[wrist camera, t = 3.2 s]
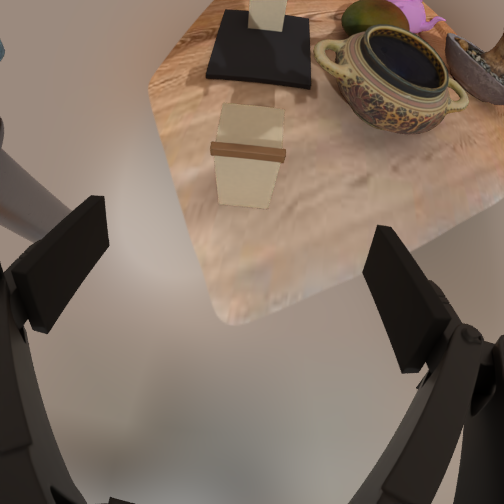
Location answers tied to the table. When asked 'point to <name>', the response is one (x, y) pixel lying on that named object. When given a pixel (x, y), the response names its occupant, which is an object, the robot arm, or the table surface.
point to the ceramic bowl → (392, 79)
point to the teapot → (416, 15)
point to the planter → (477, 68)
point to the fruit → (372, 16)
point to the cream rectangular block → (248, 154)
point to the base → (262, 46)
